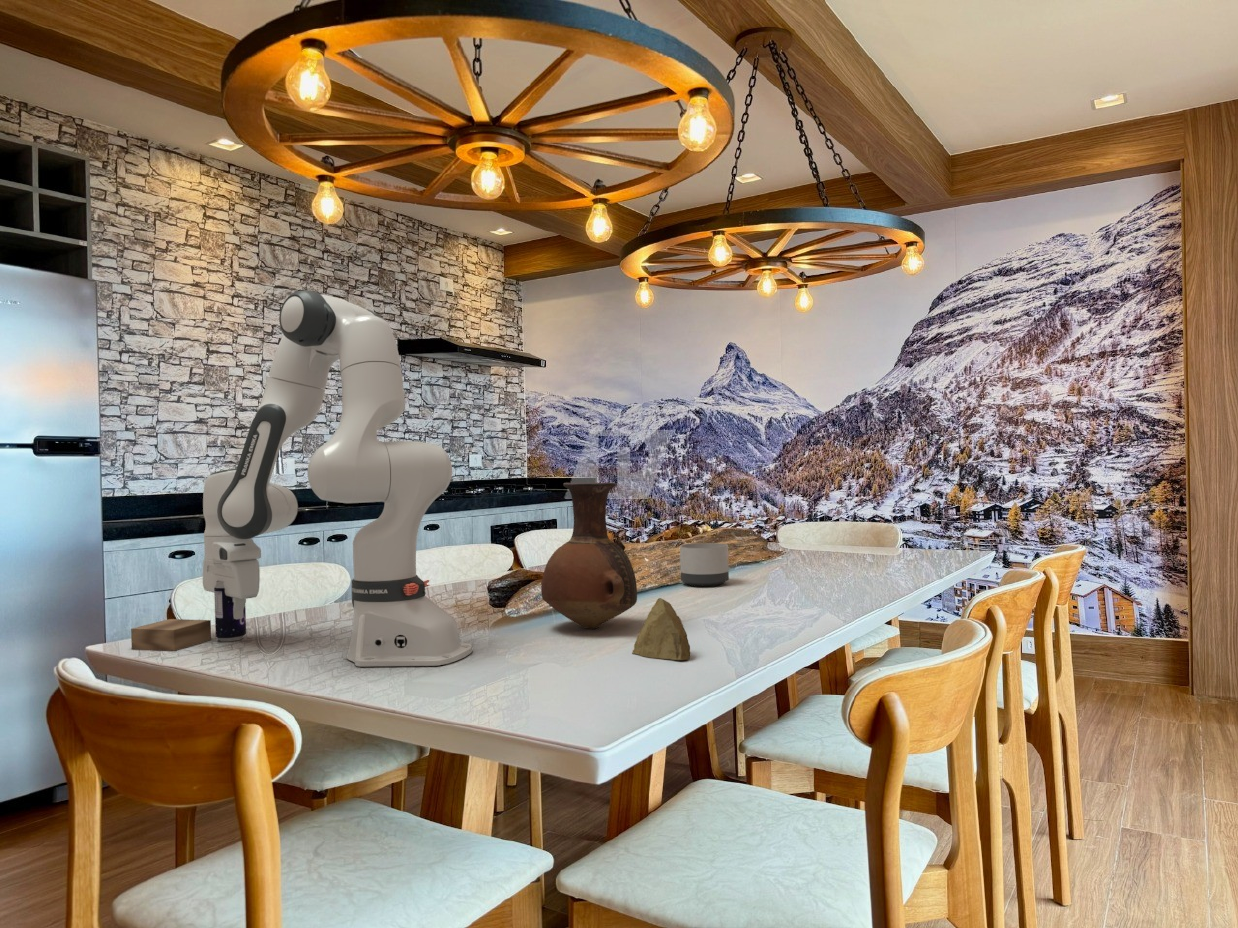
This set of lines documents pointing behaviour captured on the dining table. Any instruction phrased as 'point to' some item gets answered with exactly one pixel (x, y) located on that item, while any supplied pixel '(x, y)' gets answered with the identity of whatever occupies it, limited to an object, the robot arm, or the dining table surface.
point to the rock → (662, 634)
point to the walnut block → (171, 634)
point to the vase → (589, 564)
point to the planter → (704, 564)
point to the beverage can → (227, 616)
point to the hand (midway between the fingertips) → (230, 616)
